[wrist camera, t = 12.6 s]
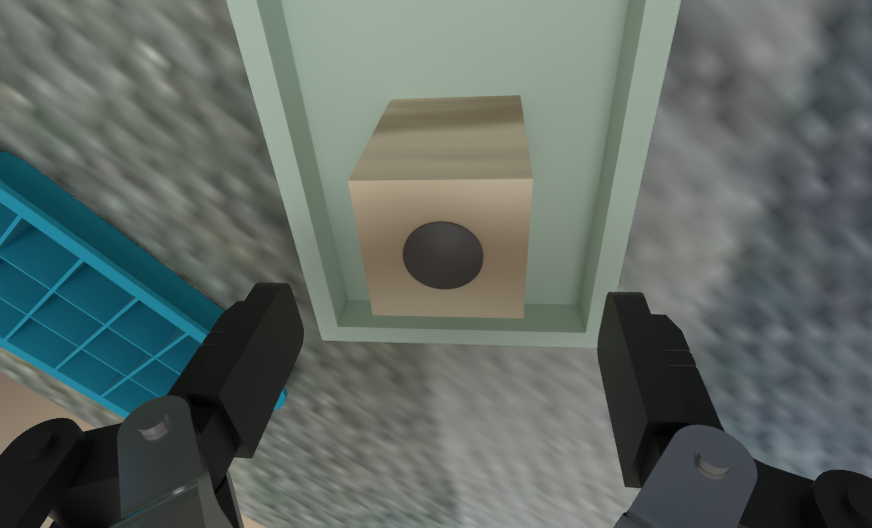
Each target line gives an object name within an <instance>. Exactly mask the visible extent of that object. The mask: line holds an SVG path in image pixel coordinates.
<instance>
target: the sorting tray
mask: <svg viewBox="0 0 872 528" xmlns="http://www.w3.org/2000/svg"><path fill="white" fill-rule="evenodd" d="M226 1H227V4H228V8H229V11H230V15H231V19H232V22H233V26H234V29H235V33H236V36H237V40H238V43H239V47H240V50H241V54H242V58H243V61H244V65H245V68H246V72H247V75H248V79H249V82H250V86H251V89H252V93H253V97H254V100H255V104H256V107H257V111H258V114H259V118H260V121H261V125H262V128H263V132H264V136H265V139H266V143H267V146H268V150H269V153H270V157H271V160H272V164H273V167H274V171H275V175H276V178H277V182H278V185H279V189H280V192H281V196H282V199H283V203H284V206H285V210H286V214H287V217H288V221H289V224H290V228H291V231H292V235H293V238H294V242H295V245H296V249H297V253H298V256H299V260H300V263H301V267H302V270H303V274H304V277H305V281H306V284H307V288H308V292H309V295H310V299H311V302H312V306H313V309H314V313H315V316H316V320H317V323H318V327H319V331H320V334H321V338H322V340H325V341H360V342H395V343H430V344H465V345H500V346H535V347H570V348H597V343H598V334H599V330H600V325H601V320H602V315H603V310H604V305H605V300H606V296H607V294H608V292H617V289H618V284H619V280H620V275H621V271H622V266H623V262H624V257H625V253H626V248H627V243H628V239H629V234H630V230H631V225H632V221H633V216H634V212H635V207H636V203H637V198H638V194H639V189H640V184H641V180H642V175H643V171H644V166H645V162H646V157H647V153H648V148H649V144H650V139H651V135H652V130H653V126H654V121H655V116H656V112H657V107H658V103H659V98H660V94H661V89H662V85H663V80H664V76H665V71H666V67H667V62H668V58H669V53H670V48H671V44H672V39H673V35H674V30H675V26H676V21H677V17H678V12H679V8H680V3H681V0H226ZM510 95H520V97H521V103H522V110H523V116H524V123H525V129H526V136H527V143H528V149H529V156H530V162H531V169H532V175H533V187H532V201H531V216H530V230H529V245H528V259H527V274H526V288H525V303H524V317H523V318H475V317H428V316H380V315H373V313H372V308H371V303H370V297H369V292H368V287H367V281H366V276H365V271H364V265H363V260H362V254H361V249H360V244H359V238H358V233H357V228H356V222H355V217H354V212H353V206H352V201H351V195H350V190H349V185H348V179H349V178H350V176H351V174H352V172H353V170H354V168H355V166H356V164H357V162H358V160H359V159H360V157H361V155H362V153H363V151H364V149H365V147H366V145H367V143H368V142H369V140H370V138H371V136H372V134H373V132H374V130H375V128H376V126H377V124H378V123H379V121H380V119H381V117H382V115H383V113H384V111H385V109H386V107H387V106H388V104H389V102H390V100H391V99H410V98H443V97H477V96H510Z"/></svg>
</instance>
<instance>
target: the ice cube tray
mask: <svg viewBox="0 0 872 528" xmlns="http://www.w3.org/2000/svg"><path fill="white" fill-rule="evenodd" d="M224 312H225V311H224V310H222V309H221V308H220V307H218V306H217V305H216V304H214V303H213V302H212V301H210V300H209V299H208V298H206V297H205V296H204V295H202V294H201V293H200V292H198V291H197V290H196V289H194V288H193V287H192V286H190V285H189V284H188V283H186V282H185V281H184V280H182V279H181V278H180V277H178V276H177V275H176V274H175V273H173V272H172V271H171V270H169V269H168V268H167V267H165V266H164V265H163V264H161V263H160V262H159V261H157V260H156V259H155V258H153V257H152V256H151V255H149V254H148V253H147V252H145V251H144V250H143V249H141V248H140V247H139V246H137V245H136V244H135V243H133V242H132V241H131V240H129V239H128V238H127V237H125V236H124V235H123V234H121V233H120V232H119V231H117V230H116V229H115V228H114V227H112V226H111V225H110V224H108V223H107V222H106V221H104V220H103V219H102V218H100V217H99V216H98V215H96V214H95V213H94V212H92V211H91V210H90V209H88V208H87V207H86V206H84V205H83V204H82V203H80V202H79V201H78V200H76V199H75V198H74V197H72V196H71V195H70V194H68V193H67V192H66V191H64V190H63V189H62V188H60V187H59V186H58V185H56V184H55V183H54V182H53V181H51V180H50V179H49V178H47V177H46V176H45V175H43V174H42V173H41V172H39V171H38V170H37V169H35V168H34V167H33V166H31V165H30V164H29V163H27V162H25V161H23V160H22V159H20V158H18V157H16V156H14V155H12V154H10V153H8V152H2V151H0V346H1V347H3V348H4V349H6V350H8V351H10V352H11V353H13V354H15V355H16V356H18V357H20V358H22V359H23V360H25V361H27V362H29V363H30V364H32V365H34V366H36V367H37V368H39V369H41V370H42V371H44V372H46V373H48V374H49V375H51V376H53V377H55V378H56V379H58V380H60V381H61V382H63V383H65V384H67V385H68V386H70V387H72V388H74V389H75V390H77V391H79V392H80V393H82V394H84V395H86V396H87V397H89V398H91V399H93V400H94V401H96V402H98V403H99V404H101V405H103V406H105V407H106V408H108V409H110V410H112V411H113V412H115V413H117V414H118V415H120V416H122V417H124V418H125V419H126V417H127V416H128V415H129V414H130V413H131V412H132V411H133V410H135V409H136V408H137V407H139V406H140V405H142V404H144V403H145V402H147V401H149V400H152V399H154V398H157V397H161V396H166V395H167V393H168V392H169V391H170V389H171V388H172V386H173V385H174V383H175V382H176V380H177V379H178V377H179V376H180V374H181V373H182V371H183V370H184V368H185V367H186V366H187V364H188V363H189V361H190V360H191V358H192V357H193V355H194V354H195V352H196V351H197V349H198V348H199V346H202V342H203V340H204V339H205V337H206V336H207V335H208V333H209V334H210V332H211V331H210V330H211V329H212V327H213V326H214V324H215V323H216V321H217V320H218V318H219V317H220V315H221V314H222V313H224ZM286 397H287V391H286V389H285V387H284V388H283V390H282V392H281V394H280V397H279V399H278V401H277V403H276V406H275V408H274V410H276V409H278V408H280V407H282V406H284V403H285V401H286ZM274 410H273V411H274Z"/></svg>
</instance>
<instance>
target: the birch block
mask: <svg viewBox="0 0 872 528" xmlns="http://www.w3.org/2000/svg"><path fill="white" fill-rule="evenodd" d="M348 185H349V190H350V195H351V201H352V206H353V212H354V217H355V222H356V228H357V233H358V238H359V244H360V249H361V254H362V260H363V265H364V271H365V276H366V281H367V287H368V292H369V297H370V303H371V308H372V313H373V315H380V316H428V317H475V318H523V317H524V303H525V288H526V274H527V259H528V245H529V230H530V216H531V201H532V187H533V175H532V169H531V162H530V156H529V149H528V143H527V136H526V129H525V123H524V116H523V110H522V103H521V97H520V95H510V96H477V97H443V98H410V99H391V100H390V102H389V104H388V106H387V107H386V109H385V111H384V113H383V115H382V117H381V119H380V121H379V123H378V124H377V126H376V128H375V130H374V132H373V134H372V136H371V138H370V140H369V142H368V143H367V145H366V147H365V149H364V151H363V153H362V155H361V157H360V159H359V160H358V162H357V164H356V166H355V168H354V170H353V172H352V174H351V176H350V178H349V179H348Z"/></svg>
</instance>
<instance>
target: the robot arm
mask: <svg viewBox="0 0 872 528" xmlns="http://www.w3.org/2000/svg"><path fill="white" fill-rule="evenodd" d="M210 331H211V332H210V334H209V333H208V335H207V336H206V337H205V339H204V340H203V342H202V346H199V348H198V349H197V351H196V352H195V354H194V355H193V357H192V358H191V360H190V361H189V363H188V364H187V366H186V367H185V368H184V370H183V371H182V373H181V374H180V376H179V377H178V379H177V380H176V382H175V383H174V385H173V386H172V388H171V389H170V391H169V392H168V393H167V395H166V396H161V397H157V398H154V399H152V400H149V401H147V402H145V403H144V404H142V405H140V406H139V407H137V408H136V409H135V410H133V411H132V412H131V413H130V414H129V415H128V416H127V417H126V419H125V420H124V421H123V423H120V424H115V425H111V426H106V427H102V428H98V429H93V430H89V431H85V432H83V431H82V430H81V429H80V427H79V426H78V425H77V424H76V423H75V422H74V421H73V420H71V419H68V418H56V419H51V420H48V421H44V422H42V423H40V424H37V425H35V426H34V427H32V428H30V429H28V430H27V431H25V432H23V433H22V434H21V435H20V436H18V437H17V438H16V439H15V440H14V441H12V443H11V444H10V445H9V446H8V447H7V448H6V449H5V450H4V451H3V453H2V454H1V455H0V528H40V527H41V525H42V524H43V522H44V521H45V519H46V518H47V516H49V517H50V518H51V519H53V520H54V521H53V522H52V524H51V525H50V527H49V528H244V525H243V522H242V518H241V514H240V510H239V506H238V502H237V498H236V495H235V491H234V487H233V483H232V479H231V476H230V473H229V471H228V468H229V466H230V464H231V462H232V460H233V458H234V457H238V458H252V457H253V455H254V453H255V450H256V448H257V446H258V444H259V441H260V439H261V437H262V435H263V432H264V430H265V428H266V426H267V424H268V421H269V419H270V417H271V415H272V412H273V410H274V408H275V406H276V403H277V401H278V399H279V397H280V394H281V392H282V390H283V388H284V386H285V383H286V381H287V379H288V377H289V374H290V372H291V370H292V368H293V365H294V363H295V361H296V359H297V356H298V354H299V352H300V350H301V347H302V344H303V338H304V329H303V324H302V321H301V317H300V314H299V311H298V308H297V305H296V302H295V299H294V295H293V292H292V289H291V287H290V285H289V284H287V283H264V282H259V283H257V284H256V285H255V286H254V287H253V289H252V290H251V292H250V293H249V295H248V296H247V298H246V299H245V301H237V302H236V303H235V304H234V305H232V306H231V307H230V308H229V309H227V310H226V311H225V312H224V313H222V314H221V315H220V317H219V318H218V320H217V321H216V323H215V324H214V326H213V327H212V329H211V330H210ZM689 350H690V349H689V347H688V345H687V342H686V340H685V337H684V335H683V333H682V331H681V330H680V329H679V328H678V327H677V326H676V325H675V324H674V323H673V322H672V321H671V320H670V319H669V318H668V317H667V316H666V315H657V314H651V313H650V310H649V308H648V305H647V302H646V299H645V297H644V295H643V293H641V292H608V294H607V296H606V300H605V305H604V310H603V315H602V320H601V325H600V330H599V334H598V343H597V352H598V361H599V366H600V371H601V376H602V381H603V385H604V390H605V395H606V399H607V404H608V409H609V414H610V418H611V423H612V428H613V433H614V437H615V442H616V447H617V452H618V456H619V461H620V466H621V470H622V475H623V480H624V485H625V487H632V488H641V490H640V492H639V494H638V495H637V497H636V499H635V500H634V502H633V503H632V505H631V507H630V508H629V510H628V511H627V512H626V513H623V514H622V516H621V517H620V518H619V520H618V521H617V523H616V524H615V526H614V527H613V528H872V479H871V478H869V477H867V476H864V475H862V474H859V473H856V472H852V471H847V470H829V471H826V472H824V473H822V474H821V475H819V476H818V478H817V479H816V480H815V481H813V480H810V479H807V478H804V477H801V476H798V475H795V474H792V473H789V472H786V471H783V470H780V469H777V468H774V467H771V466H769V465H766V464H764V463H762V462H760V461H758V460H756V459H754V458H752V456H751V454H750V453H749V452H748V450H747V449H746V448H745V447H744V446H743V445H742V444H741V443H740V442H739V441H738V440H736V439H735V438H734V437H732V436H731V435H729V434H728V433H726V432H725V431H724V429H723V427H722V425H721V423H720V421H719V418H718V416H717V414H716V411H715V409H714V406H713V404H712V402H711V399H710V397H709V394H708V392H707V390H706V387H705V385H704V383H703V380H702V378H701V375H700V373H699V371H698V369H697V368H696V364H695V361H694V359H693V356H692V354H691V353H690V352H689Z"/></svg>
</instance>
